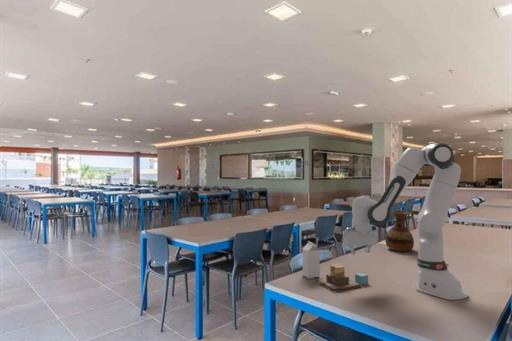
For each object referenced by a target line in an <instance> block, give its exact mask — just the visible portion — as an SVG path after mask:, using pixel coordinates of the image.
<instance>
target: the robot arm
mask: <svg viewBox="0 0 512 341" xmlns="http://www.w3.org/2000/svg"><path fill="white" fill-rule="evenodd" d="M424 165H426V166H432V167H433V168H434V175H433V176H432V179H431V181H430V184H429V187H428V189H427V191H426V192H427V193H426V195H425V198H424V201H423V205H422V207H421V209H420V211H419V212H418V214H417V218H416V219H417V220H416V221H417V253H418V254H417V256H418V257H417V263H416V264H417V276H416V277H417V278H416V282H415V286H414V287H415V288H416V291H417V292H421V293H425V294H428V295H431V296H435V297H438V298H442V299H445V300H448V301H449V300H452V301H455V300H463V299H466V298H468V297H469V294H468V293H467V291H463V289H462V284H461V281H460V280H459V279H458V278H457V277H456V276H455V275H454V274H453V273H452V272H450V270H448V267H449V266H450V263H446V261H445V260H444V257H445V254H444V236H443V228H444V225H445V223H446V219H447V217H448V214H449V211H450V208H451V203H452V201H453V198H454V197H455V193H456V190H457V188H458V185H459V183H460V179H461V173H462V168H461V166H460V165H459V164H458V163H456V162H455V156H454V150H453V148H452V146H450V145H448V144H447V143H443V142H433V143H430V144H427V145H424V146H423V147H421V148H417V147H407V148H406V149H405V150H404V151H403V153H402V154H401V155H400V156H399V158H398V159H397V160H396V161H395V164H394V165H393V167H392V170H391V172H390V174H389V179H388V184H387V187H386V189H385V190H384V192H383V194H382V196H381V197H380V199H379V200H378V201H376V200H374V199H372V198H370V197H369V196H367V195H361V196H357V197H355V198H353V199H352V204H351V214H352V218H351V227H347V228H345V229H344V231H343V236H342V237H343V239H342V244H343V246H345V247H348V249H349V250H350V254H351V255H356V250H355V246H356V247H357V246H366V248H365V249H364V250H365V254H369V253H371V251H370V250H371V249H372V246H373V245H377V243H378V242H379V237H378V236H379V234H378V226H384V225H385V224H387V223H388V222H389V220H390V218H391V210H392V208H393V205H395V202H396V201H397V199H398V197H399V196H400V194H401V193H402V192H403V190H404V189H405V188H407V187H408V186H409V185H410V184H411V182H412V181H413V180H414V179H415V178H416V176H417V174H418V173H419V171H420V169H422V167H423V166H424ZM371 223H372V224H371Z"/></svg>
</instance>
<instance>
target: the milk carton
mask: <svg viewBox="0 0 512 341" xmlns="http://www.w3.org/2000/svg"><path fill="white" fill-rule="evenodd" d="M320 252H321V251H320V249H318V247H317V244H315V243H314V242H311V241H310V240H307V243H306V244H305V245H304V246H303V247H302V276H303V277H305V276H306V277H307V278H306V277H305V278H306V279H308V278H309V279H315V278H314V277H319V278H320V276H321V275H320V274H321V272H320V271H321V268H320V264H321V263H320V261H321V260H320V257H321V256H320V254H321V253H320Z"/></svg>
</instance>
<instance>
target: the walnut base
mask: <svg viewBox="0 0 512 341" xmlns="http://www.w3.org/2000/svg"><path fill="white" fill-rule="evenodd" d="M317 282H318V283H320V284H322V285H323V287H324V286H325V288H326V287H327V288H326V289H328V288H329V289H328V290H330V289H331V290H330V291H332V292H333V291H336V292H341V291H347V290H352V289H353V290H355V289H359V288H361V286H362V285H361V284H359V283H356V282H355V280H352V279H350V277H349V276H347V275H345V276H344V277H338V278H336V277H334V276H332V275H330V273H327V274H326V276H325V277H321V278H320V277H319V278H315V283H317ZM318 283H317V284H318ZM320 284H319V285H320ZM322 285H321V286H322Z"/></svg>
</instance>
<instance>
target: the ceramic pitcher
mask: <svg viewBox="0 0 512 341" xmlns="http://www.w3.org/2000/svg"><path fill="white" fill-rule="evenodd" d="M392 214H394V216H395V223H394V226H392V227H391V228H390V229H389V230H388V231H387V233H386V237H385V245H386V247H387V248H389V249H391V250H395V251H397V250H398V251H397V252H408V251H411V250H413V248H414V246H415V244H414V243H415V242H414V240H415V239H414V237H413V234H412V233H411V231H410V229H409V228H408V227H406V226H405V218H406V216H407V215H408V214H409V212H408V211H406V210H393V211H392Z"/></svg>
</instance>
